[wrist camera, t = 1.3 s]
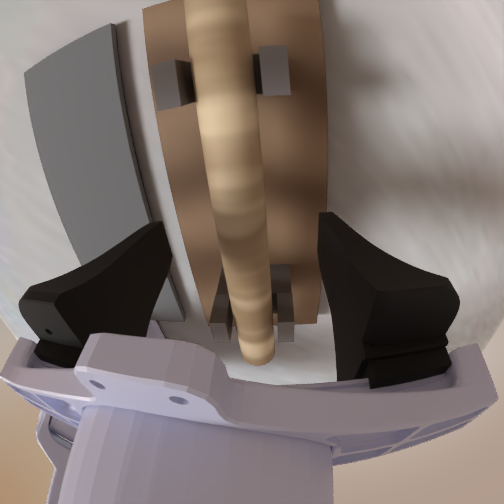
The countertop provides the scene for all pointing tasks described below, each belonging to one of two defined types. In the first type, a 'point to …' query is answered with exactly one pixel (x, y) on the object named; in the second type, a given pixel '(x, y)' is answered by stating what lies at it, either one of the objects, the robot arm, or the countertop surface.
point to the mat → (91, 150)
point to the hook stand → (272, 148)
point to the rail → (234, 163)
